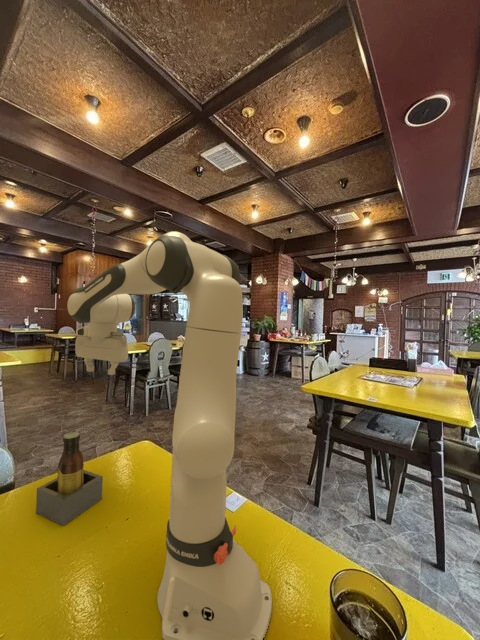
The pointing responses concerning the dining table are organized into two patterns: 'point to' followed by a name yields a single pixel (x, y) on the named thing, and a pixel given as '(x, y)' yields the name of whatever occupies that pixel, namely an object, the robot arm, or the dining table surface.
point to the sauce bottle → (70, 465)
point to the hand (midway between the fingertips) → (100, 372)
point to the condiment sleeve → (68, 499)
